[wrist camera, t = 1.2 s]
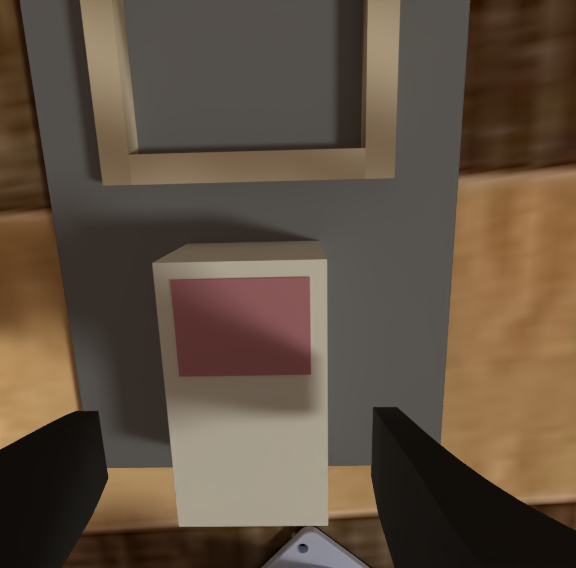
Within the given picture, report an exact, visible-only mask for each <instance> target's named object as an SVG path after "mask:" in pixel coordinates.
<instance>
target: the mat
mask: <svg viewBox="0 0 576 568" xmlns="http://www.w3.org/2000/svg"><path fill="white" fill-rule="evenodd" d="M20 5H21V12H22V18H23V25H24V31H25V38H26V44H27V51H28V57H29V64H30V71H31V77H32V84H33V90H34V97H35V103H36V110H37V116H38V123H39V129H40V136H41V142H42V149H43V155H44V162H45V168H46V175H47V181H48V188H49V194H50V201H51V207H52V214H53V220H54V227H55V233H56V240H57V246H58V253H59V259H60V266H61V272H62V279H63V285H64V292H65V298H66V305H67V311H68V318H69V324H70V331H71V337H72V344H73V350H74V357H75V363H76V370H77V376H78V383H79V389H80V396H81V402H82V409H83V411H99V418H100V425H101V431H102V438H103V445H104V452H105V458H106V465H107V468H148V467H173V463H172V453H171V443H170V433H169V423H168V414H167V404H166V394H165V384H164V374H163V365H162V355H161V345H160V335H159V325H158V316H157V306H156V296H155V286H154V276H153V266H152V263H153V262H155V261H157V260H159V259H160V258H162V257H164V256H166V255H168V254H169V253H171V252H173V251H175V250H177V249H178V248H180V247H182V246H184V245H186V244H190V243H235V242H279V241H320V243H321V245H322V248H323V250H324V253H325V255H326V258H327V353H328V466H357V465H371V464H372V425H373V407H397V408H399V409H400V410H401V411H402V412H403V413H405V414H406V415H407V416H408V417H409V418H410V419H411V420H412V421H413V422H415V423H416V424H417V425H418V426H419V427H420V428H421V429H422V430H424V431H425V432H426V433H427V434H428V435H429V436H431V437H432V438H433V439H434V440H435V441H436V442H438V443H439V444H440V443H441V428H442V413H443V398H444V383H445V368H446V353H447V338H448V323H449V309H450V294H451V279H452V264H453V249H454V234H455V219H456V204H457V189H458V174H459V159H460V144H461V129H462V114H463V99H464V84H465V69H466V54H467V39H468V24H469V9H470V0H400V27H399V57H398V88H397V119H396V149H395V178H385V179H346V180H308V181H269V182H231V183H193V184H154V185H116V186H103V182H102V174H101V166H100V158H99V150H98V142H97V134H96V126H95V118H94V110H93V102H92V94H91V86H90V78H89V70H88V62H87V54H86V46H85V37H84V29H83V21H82V13H81V5H80V0H20ZM123 6H124V15H125V25H126V35H127V44H128V54H129V64H130V73H131V83H132V93H133V103H134V112H135V122H136V132H137V141H138V151H139V154H168V153H204V152H240V151H276V150H312V149H348V148H361V114H362V45H363V0H123Z"/></svg>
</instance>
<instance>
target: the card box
mask: <svg viewBox="0 0 576 568" xmlns="http://www.w3.org/2000/svg"><path fill="white" fill-rule="evenodd" d="M152 266H153V276H154V286H155V296H156V306H157V316H158V325H159V335H160V345H161V355H162V365H163V374H164V384H165V394H166V404H167V414H168V423H169V433H170V443H171V453H172V463H173V473H174V482H175V492H176V502H177V512H178V522H179V527H200V526H328V353H327V258H326V255H325V253H324V250H323V248H322V245H321V243H320V241H279V242H235V243H190V244H186V245H184V246H182V247H180V248H178V249H177V250H175V251H173V252H171V253H169V254H168V255H166V256H164V257H162V258H160V259H159V260H157V261H155V262H153V263H152Z"/></svg>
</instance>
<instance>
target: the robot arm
mask: <svg viewBox="0 0 576 568" xmlns="http://www.w3.org/2000/svg"><path fill="white" fill-rule="evenodd" d="M371 477H372V483H373V488H374V494H375V499H376V505H377V510H378V514H379V518H380V521H381V525H382V528H383V531H384V534H385V538H386V541H387V544H388V547H389V551H390V554H391V557H392V560H393V564H394V567H395V568H576V531H575V530H573V529H571V528H569V527H567V526H566V525H564V524H562V523H560V522H558V521H556V520H554V519H552V518H550V517H548V516H547V515H545V514H543V513H541V512H539V511H537V510H535V509H534V508H532V507H530V506H528V505H527V504H525V503H523V502H521V501H520V500H518V499H516V498H515V497H513V496H512V495H510V494H508V493H507V492H505V491H504V490H502V489H500V488H499V487H497V486H496V485H494V484H493V483H491V482H490V481H488V480H487V479H485V478H484V477H482V476H481V475H479V474H478V473H477V472H475V471H474V470H472V469H471V468H470V467H468V466H467V465H466V464H464V463H463V462H462V461H460V460H459V459H458V458H456V457H455V456H454V455H452V454H451V453H450V452H449V451H447V450H446V449H445V448H444V447H442V446H441V445H440V444H439V443H438V442H436V441H435V440H434V439H433V438H432V437H431V436H429V435H428V434H427V433H426V432H425V431H424V430H422V429H421V428H420V427H419V426H418V425H417V424H416V423H415V422H413V421H412V420H411V419H410V418H409V417H408V416H407V415H406V414H405V413H403V412H402V411H401V410H400V409H399V408H397V407H373V425H372V464H371ZM107 480H108V472H107V465H106V458H105V452H104V445H103V438H102V431H101V425H100V418H99V411H75V412H72V413H70V414H67V415H65V416H63V417H61V418H59V419H57V420H55V421H53V422H51V423H49V424H47V425H45V426H43V427H42V428H40V429H38V430H36V431H34V432H32V433H30V434H28V435H27V436H25V437H23V438H21V439H19V440H17V441H15V442H14V443H12V444H10V445H8V446H6V447H4V448H2V449H1V450H0V568H61V567H62V566H63V564H64V562H65V561H66V559H67V557H68V556H69V554H70V552H71V551H72V549H73V547H74V546H75V544H76V542H77V541H78V539H79V537H80V536H81V534H82V532H83V531H84V529H85V527H86V525H87V524H88V522H89V520H90V518H91V517H92V515H93V513H94V510H95V508H96V506H97V504H98V502H99V499H100V497H101V495H102V492H103V490H104V487H105V485H106V483H107ZM299 544H306V545H305V546H300V545H299ZM261 568H370V567H368V566H367V565H366V564H364V563H363V562H362V561H360V560H359V559H358V558H356V557H355V556H353V555H352V554H351V553H349V552H348V551H347V550H345V549H344V548H343V547H341V546H340V545H339V544H337V543H336V542H335V541H333V540H332V539H331V538H329V537H328V536H326V535H325V534H324V533H322V532H321V531H320V530H318V529H317V528H315V527H312V526H307V527H304V528H303V529H301V530H300V531H299V532H298V533H297V534H296V535H295V536H294V537H293V538H292V539H291V540H290V541H289V542H288V543H286V544H285V545H284V546H283V547H282V548H281V549H280V550H279V551H278V552H277V553H276V554H275V555H274V556H273V557H272V558H271V559H270V560H269V561H268V562H267V563H266V564H264V565H263V566H262V567H261Z"/></svg>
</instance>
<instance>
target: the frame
mask: <svg viewBox="0 0 576 568" xmlns="http://www.w3.org/2000/svg"><path fill="white" fill-rule="evenodd" d="M80 5H81V13H82V21H83V29H84V37H85V46H86V54H87V62H88V70H89V78H90V86H91V94H92V102H93V110H94V118H95V126H96V134H97V142H98V150H99V158H100V166H101V174H102V182H103V186H116V185H154V184H193V183H231V182H269V181H308V180H346V179H385V178H395V149H396V119H397V88H398V57H399V27H400V0H363V45H362V114H361V148H348V149H312V150H276V151H240V152H204V153H168V154H139V151H138V141H137V132H136V122H135V112H134V103H133V93H132V83H131V73H130V64H129V54H128V44H127V35H126V25H125V15H124V6H123V0H80Z"/></svg>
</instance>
